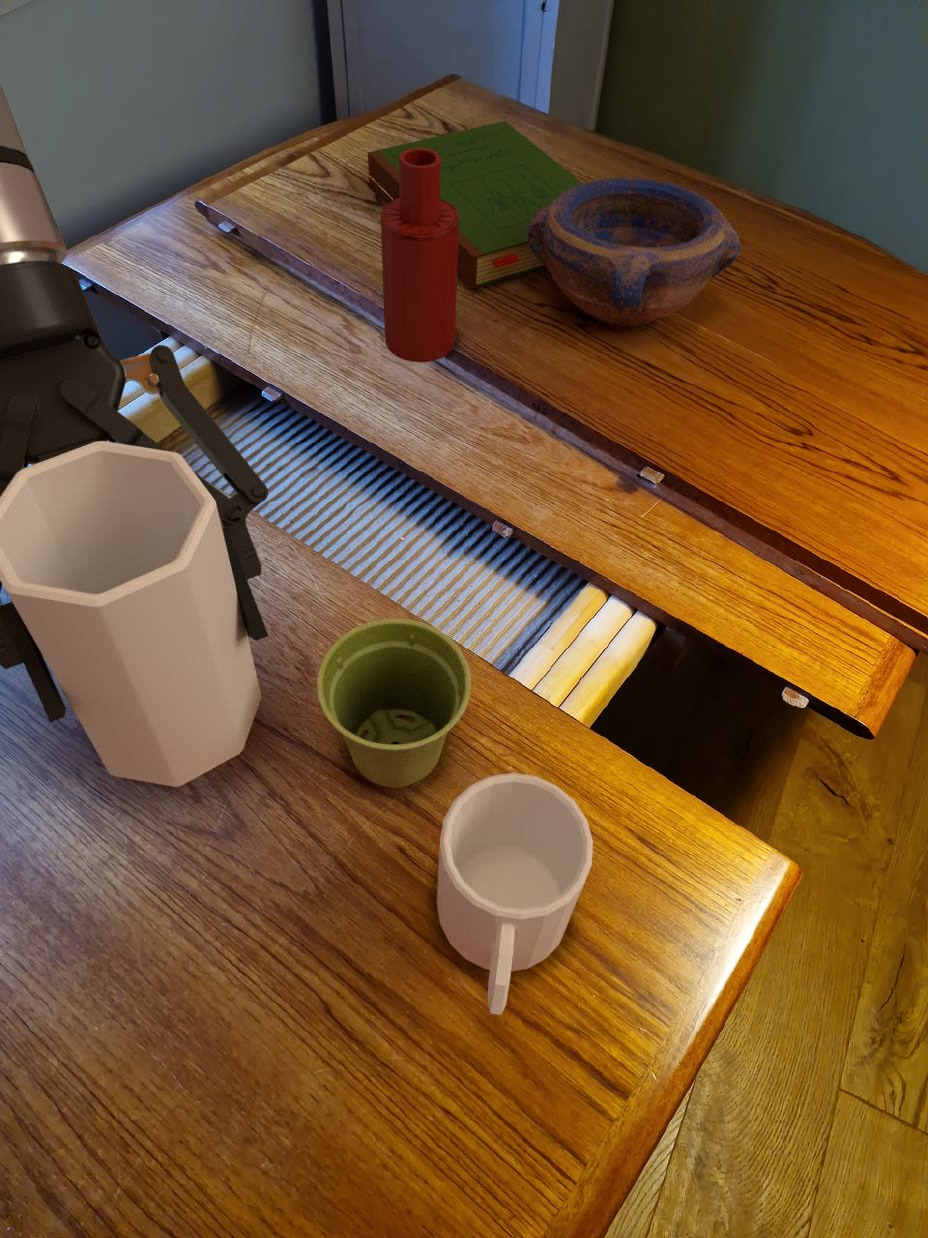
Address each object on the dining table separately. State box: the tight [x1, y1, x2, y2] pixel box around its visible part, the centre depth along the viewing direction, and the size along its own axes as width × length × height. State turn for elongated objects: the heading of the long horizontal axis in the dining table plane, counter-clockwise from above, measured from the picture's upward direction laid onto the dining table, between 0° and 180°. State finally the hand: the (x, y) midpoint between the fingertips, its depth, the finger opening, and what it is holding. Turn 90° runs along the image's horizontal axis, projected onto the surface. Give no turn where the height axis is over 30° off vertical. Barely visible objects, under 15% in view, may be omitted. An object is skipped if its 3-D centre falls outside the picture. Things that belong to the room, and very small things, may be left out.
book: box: [367, 120, 584, 290], centre depth 102 cm, size 25×19×4 cm
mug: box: [436, 772, 594, 1016], centre depth 50 cm, size 8×12×10 cm
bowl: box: [527, 177, 742, 327], centre depth 90 cm, size 18×18×10 cm
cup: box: [0, 441, 262, 788], centre depth 51 cm, size 11×11×18 cm
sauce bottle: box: [380, 148, 459, 363], centre depth 82 cm, size 7×7×18 cm
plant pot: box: [316, 618, 472, 789], centre depth 58 cm, size 9×9×9 cm
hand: (162, 674), depth 50 cm, fingers closed on cup, 11 cm apart
